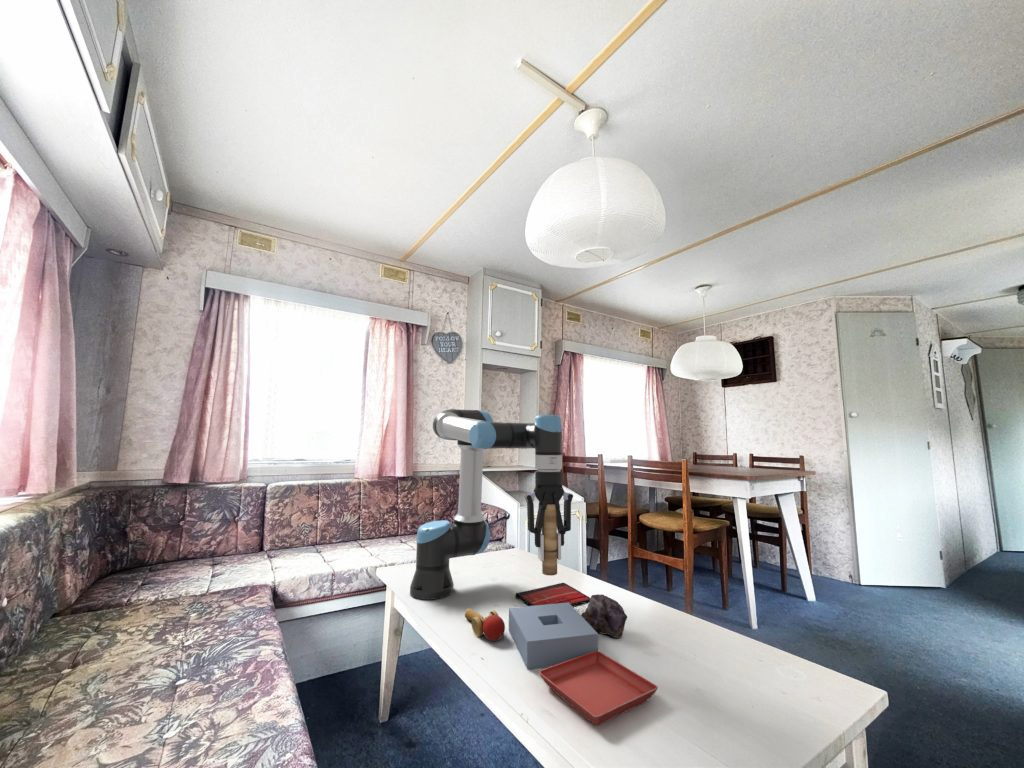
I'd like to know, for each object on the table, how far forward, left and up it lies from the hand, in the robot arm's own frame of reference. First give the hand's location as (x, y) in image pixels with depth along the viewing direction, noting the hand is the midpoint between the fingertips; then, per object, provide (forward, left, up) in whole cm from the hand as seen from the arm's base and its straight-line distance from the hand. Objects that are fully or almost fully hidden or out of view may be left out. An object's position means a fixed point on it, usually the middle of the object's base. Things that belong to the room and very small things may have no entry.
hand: (549, 558), depth 109 cm
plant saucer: (+22, +3, -22) cm, 31 cm away
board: (0, 0, -21) cm, 21 cm away
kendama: (-12, -16, -22) cm, 30 cm away
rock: (-4, +18, -22) cm, 28 cm away
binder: (-29, +11, -22) cm, 38 cm away
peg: (0, 0, -4) cm, 4 cm away
